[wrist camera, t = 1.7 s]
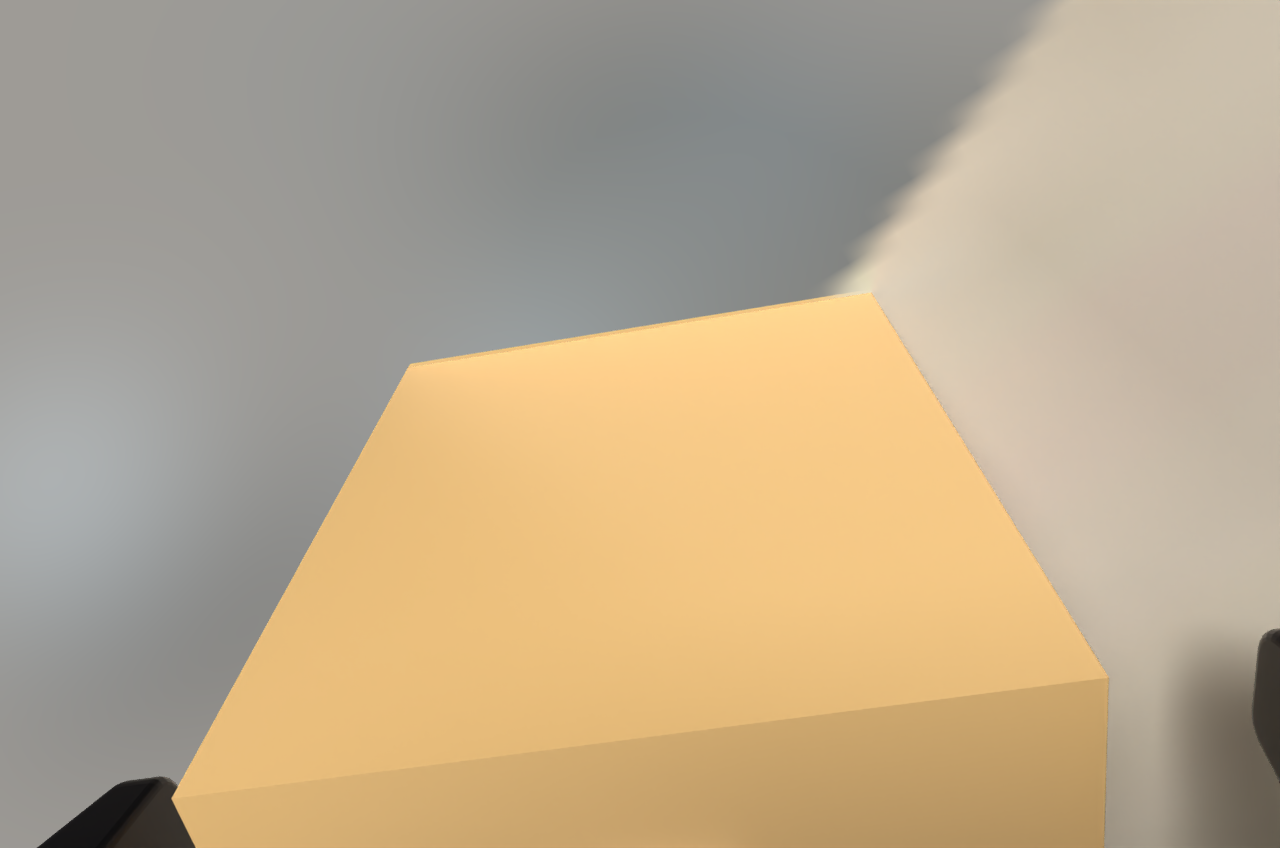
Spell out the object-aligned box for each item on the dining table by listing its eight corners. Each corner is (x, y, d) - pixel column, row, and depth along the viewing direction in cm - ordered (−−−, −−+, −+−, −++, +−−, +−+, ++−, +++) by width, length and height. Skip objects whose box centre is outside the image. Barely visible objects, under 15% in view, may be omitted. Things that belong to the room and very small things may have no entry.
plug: (911, 809, 11) (1100, 1439, 7) (553, 852, 12) (488, 1483, 7) (869, 289, 9) (1127, 710, 4) (410, 363, 9) (152, 835, 4)
